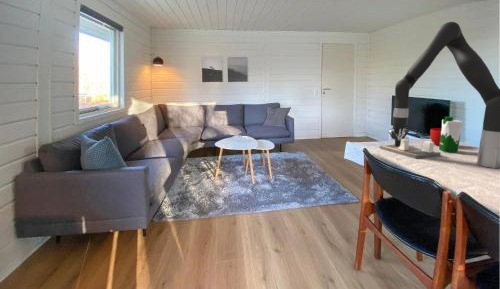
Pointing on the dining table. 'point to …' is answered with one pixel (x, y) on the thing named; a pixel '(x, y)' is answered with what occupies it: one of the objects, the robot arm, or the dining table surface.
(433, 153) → the panel
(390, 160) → the dining table surface
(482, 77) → the robot arm
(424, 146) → the block
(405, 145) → the block
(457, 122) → the milk carton
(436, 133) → the ceramic cup
